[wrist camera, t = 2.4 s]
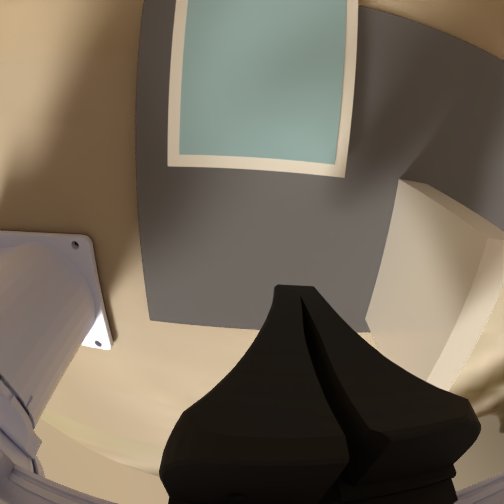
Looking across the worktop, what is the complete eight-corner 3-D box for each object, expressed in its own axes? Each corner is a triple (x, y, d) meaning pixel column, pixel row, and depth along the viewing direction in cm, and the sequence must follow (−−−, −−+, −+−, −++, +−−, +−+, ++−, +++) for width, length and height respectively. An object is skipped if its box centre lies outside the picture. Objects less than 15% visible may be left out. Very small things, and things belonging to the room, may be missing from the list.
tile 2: (365, 318, 17) (404, 417, 11) (398, 178, 13) (488, 237, 7) (391, 318, 17) (435, 411, 11) (428, 183, 13) (520, 242, 7)
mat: (152, 315, 18) (149, 320, 17) (147, 0, 10) (144, -3, 10) (477, 323, 18) (480, 327, 17) (535, 83, 10) (540, 83, 10)
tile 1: (177, 160, 13) (166, 166, 12) (187, -8, 10) (178, -21, 8) (335, 170, 13) (345, 178, 12) (347, 3, 10) (358, -9, 8)
